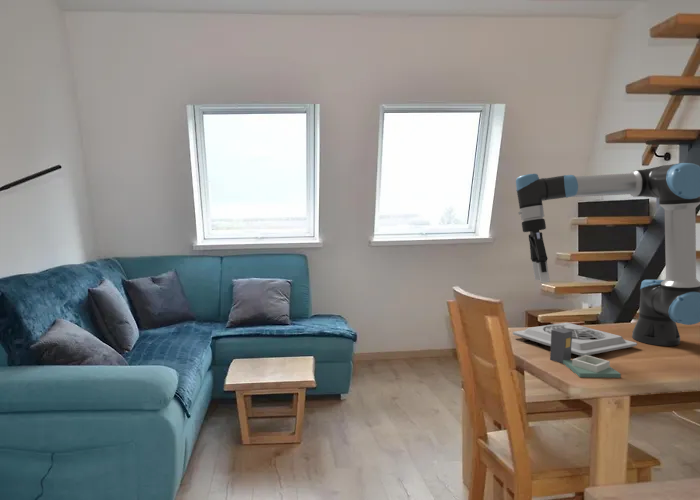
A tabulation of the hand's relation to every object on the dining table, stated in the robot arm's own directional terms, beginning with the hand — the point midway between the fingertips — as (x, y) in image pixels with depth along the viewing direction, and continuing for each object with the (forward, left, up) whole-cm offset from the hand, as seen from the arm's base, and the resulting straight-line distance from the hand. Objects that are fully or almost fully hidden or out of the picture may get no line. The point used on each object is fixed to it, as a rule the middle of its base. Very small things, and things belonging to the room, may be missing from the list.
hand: (542, 281), depth 164 cm
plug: (-4, +9, -25) cm, 27 cm away
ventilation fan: (-16, -10, -25) cm, 31 cm away
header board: (-9, +18, -25) cm, 32 cm away
